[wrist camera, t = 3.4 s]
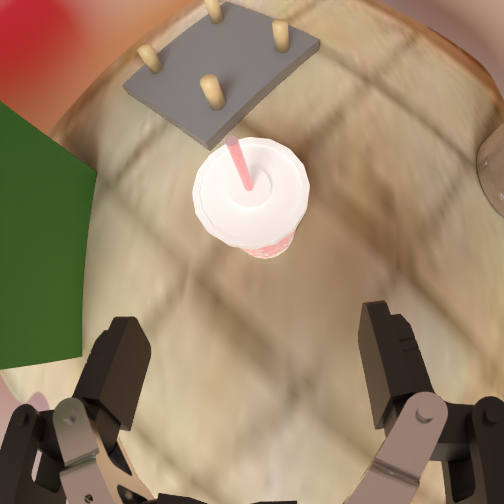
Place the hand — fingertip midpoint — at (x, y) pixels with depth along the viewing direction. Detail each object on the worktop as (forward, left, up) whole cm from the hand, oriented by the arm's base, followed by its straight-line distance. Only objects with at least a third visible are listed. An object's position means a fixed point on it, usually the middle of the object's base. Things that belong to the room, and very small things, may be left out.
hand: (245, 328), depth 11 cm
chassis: (-1, -25, -13) cm, 28 cm away
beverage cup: (-1, -7, -13) cm, 15 cm away
